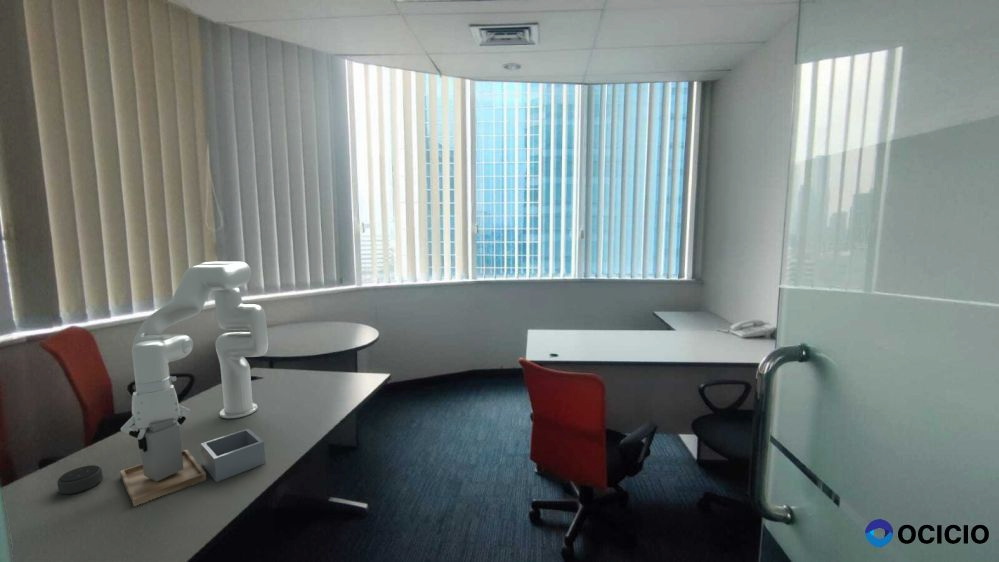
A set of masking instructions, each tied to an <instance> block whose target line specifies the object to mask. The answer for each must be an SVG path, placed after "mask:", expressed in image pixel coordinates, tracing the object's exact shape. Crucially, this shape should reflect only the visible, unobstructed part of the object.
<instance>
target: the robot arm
mask: <svg viewBox="0 0 999 562" xmlns="http://www.w3.org/2000/svg"><path fill="white" fill-rule="evenodd" d="M251 277H252V269H251V267H250V265H249V264H248V263H246V262H245V261H207V262H206V261H205V262H201V263H199V264H198V265H193V266H190V267H188V268H187V269H186V270H185V271H184V274H183V275H182V278H181V279H180V281H179V283H178V285H177V288H176V290H175V292H174V294H173V296H172V298H171V301H170V302H168V303H167V304H165V305H163V306H162V307H160V308H159V309H157V310H156V311H155V312H153V313H152V314H151V315H149V316H148V317H147V318H146V319H145V320H144V321H143V322H142V324H141V325H140V326H139V329H138V331H137V332H136V335H135V337H134V339H133V342H132V348H131V356H132V357H131V359H132V364H133V375H134V383H135V389H136V391H134V392H133V393H132V397H131V417H129V419H128V420H127V421H126V422H125V423H124V424H123V425H122V426H121V427H120V431H121V432H122V433H125V434H126V435H129V436H131V437H133V438H136V439H137V443H138V449H139V450H141V449H142V450H143V452H146V451H147V445H146V438H144V434H145V431H146V429H147V428H149V427H150V426H149V425H151V424H155V423H159V422H162V421H166V420H169V419H172V418H174V421H173V425H175V424H177V425H179V429H180V428H181V426H182V425H183V424H184V422H185V421H186V420H187V418H188V417H189V416H190V415H191V414H192V410H191V409H190V408H187V407H185V406H183V405H180V404H179V399H178V396H177V391H176V389H175V385H174V384H173V383H174V382H176V381H178V380H177V376H176V375H175V376H172V375H170V367H169V363H170V362H174V361H178V360H181V359H182V360H183V358H186V357H187V356H188V355H190V354H191V352H192V350H193V348H194V342H193V339H192V338H191V337H190V336H189V335H187V334H183V333H162V332H164V331H165V330H166V329H167V328H169V327H170V326H173V325H174V324H176V323H179V322H182V321H185V320H187V319H190V318H192V317H195V316H197V315H198V314H200V313H201V312H202V311H203V309H204V306H205V304H206V301H207V299H208V296H209V294H210V292H211V293H212V294H213V298H214V304H215V311H216V312H215V313H216V319H217V324H218V327H219V328H220V329H222V330H226V331H227V330H228V331H229V330H230V331H231V330H235V331H233V332H224V333H222V334H220V335H219V336H218V337H217V338H216V340H215V350H216V354H217V357H218V361H219V365H220V375H221V376H220V377H221V378H220V379H221V387H222V388H221V389H222V399H223V408H222V409H221V410H220V411H219V417H221V418H222V419H228V420H229V419H239V418H242V417H246V416H250V415H252V414H254V412H256V411H257V410H258V404H257V403H255V402H253V392H252V380H251V379H252V378H251V366H250V364H249V362H248V360H247V359H246V358H254V357H255V358H256V357H262V356H264V355H265V354H266V353H267V351H268V348H269V337H268V328H267V327H268V326H267V316H266V312H265V310H264V307H262V306H261V305H260V304H254V303H246V304H244V303H243V300H242V293H241V289H240V287H243V286H245V285H247V284H248V283H249V282H250V280H251ZM237 330H240V331H237ZM241 330H242V331H241ZM243 330H248V331H243ZM236 331H237V332H236ZM181 413H182V414H181ZM132 426H135V428H136V430H135V429H132V428H131V427H132Z"/></svg>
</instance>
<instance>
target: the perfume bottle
mask: <svg viewBox="0 0 999 562" xmlns="http://www.w3.org/2000/svg"><path fill="white" fill-rule="evenodd" d="M173 421H174V418H172V419H169V420H166V421H162V422H159V423H155V424H151V425H149V426H150V427H149V428H147V429H146V431H145V434H144V438H146V445H147V451H146V452H143V450H142V449H140V455H141V462H142V463H141V464H143V473H144V476H146V477H149V478H151V479H153V480H155V481H159V480H161V479H163V478H165V477H168V476H170V475H172V474H174V473H176V472H178V471H181V470H183V469H184V468H183V458H182V451H183V450H182V442H181V432H180V428H179V425H177V424H175V425H173Z"/></svg>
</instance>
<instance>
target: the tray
mask: <svg viewBox="0 0 999 562" xmlns="http://www.w3.org/2000/svg"><path fill="white" fill-rule="evenodd" d="M182 458H183V468H184V469H183V470H181V471H178V472H176V473H174V474H172V475H170V476H168V477H165V478H163V479H161V480H159V481H155V480H153V479H151V478H149V477H146V476H144V473H143V464H142V463H140V464H136V465H133V466H131V467H128V468H125V469H122V470H119V473H120V478H121V481H122V482H123V485H124V487H125V489H126V491H127V494H128V496H129V498H130V501H131V500H132V501H131V503H132V505H133V507H134V506H135V507H137V505H138V506H140V505H139V504H141V505H143V504H145V502H146V503H149V502H150V501H149V500H151V501H153V500H152V499H154V498H157V497H159V498H161V497H160V496H162V497H164V496H163V495H165V494H167V495H169V494H168V493H170V494H173V493H175V492H177V491H176V490H178V491H180V490H183V489H185V488H184V487H186V488H188V487H190V485H191V486H193V485H192V484H194V485H196V484H199V483H202V482H204V481H206V479H207V473H206V471H205V470H204V469H203V467H202V466H201V464H199V462H197V460H196V459H195V457H194V456H193V455H192V453H190V451H189V450H188V449H183V450H182ZM203 480H204V481H203ZM201 481H202V482H201ZM198 482H199V483H198ZM187 486H188V487H187ZM182 488H183V489H182ZM179 489H180V490H179ZM174 491H175V492H174ZM165 496H166V495H165ZM157 499H158V498H157ZM154 500H155V499H154ZM148 501H149V502H148ZM142 503H143V504H142Z"/></svg>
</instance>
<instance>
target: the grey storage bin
mask: <svg viewBox="0 0 999 562" xmlns="http://www.w3.org/2000/svg"><path fill="white" fill-rule="evenodd" d="M200 449H201V459H202V467H204V469H205V468H206V469H205V470H206V471H207V473H209V475H210V476H211V477H212V478H213V480H214V482H215V483H218V482H220V481H222V480H226V479H228V478H230V477H234V476H236V475H238V474H241V473H243V472H247V471H248V470H251V469H254V468H256V467H259V466H261V465H264V464H266V455H265V454H266V453H265V443H264V441H263V440H262V439H261V438H260V437H259V436H258V435H256V434H255V432H253V431H252V429H251V430H250V428H245V429H242V430H239V431H235V432H232V433H229V434H226V435H223V436H220V437H217V438H213V439H211V440H208V441H205V442H201V443H200Z"/></svg>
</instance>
